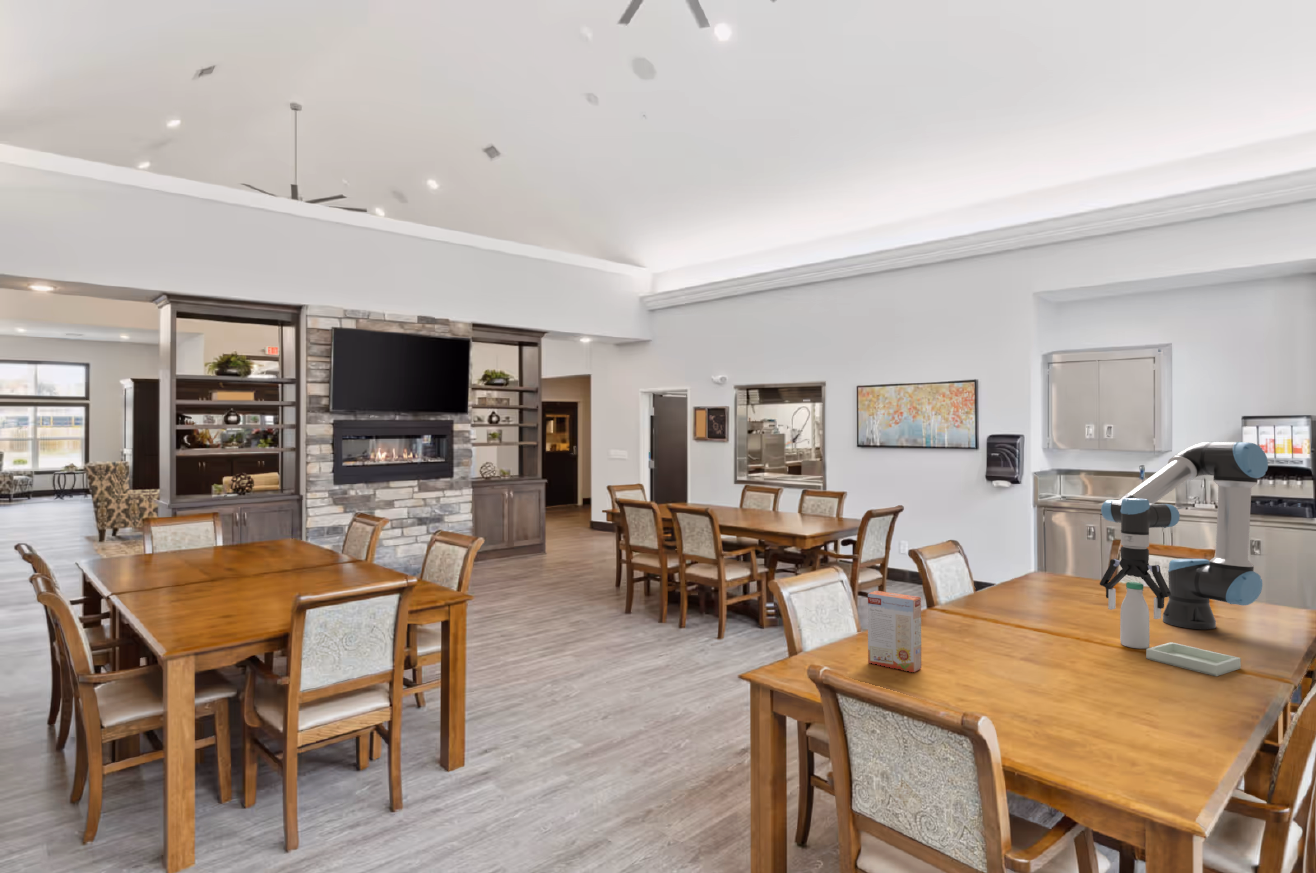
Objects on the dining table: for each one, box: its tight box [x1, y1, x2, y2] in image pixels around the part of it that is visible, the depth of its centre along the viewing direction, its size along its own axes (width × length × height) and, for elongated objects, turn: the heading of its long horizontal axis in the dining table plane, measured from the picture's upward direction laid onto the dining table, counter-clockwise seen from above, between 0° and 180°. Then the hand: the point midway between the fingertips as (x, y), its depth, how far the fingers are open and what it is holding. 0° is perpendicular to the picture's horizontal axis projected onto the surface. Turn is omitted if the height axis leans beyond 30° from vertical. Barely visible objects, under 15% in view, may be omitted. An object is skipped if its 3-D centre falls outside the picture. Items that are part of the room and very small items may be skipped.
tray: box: [1145, 641, 1242, 677], centre depth 210 cm, size 14×18×3 cm
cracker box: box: [867, 590, 922, 673], centre depth 209 cm, size 14×6×21 cm, turn 47°
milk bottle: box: [1119, 581, 1150, 650], centre depth 228 cm, size 8×8×20 cm
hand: (1134, 613), depth 228 cm, fingers open, 13 cm apart
